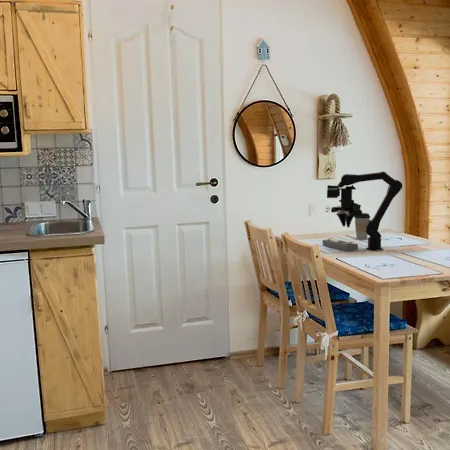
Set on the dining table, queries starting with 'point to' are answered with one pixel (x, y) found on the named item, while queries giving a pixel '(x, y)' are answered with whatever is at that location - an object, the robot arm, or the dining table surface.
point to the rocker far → (333, 240)
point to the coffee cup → (361, 225)
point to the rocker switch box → (340, 245)
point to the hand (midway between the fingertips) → (346, 226)
